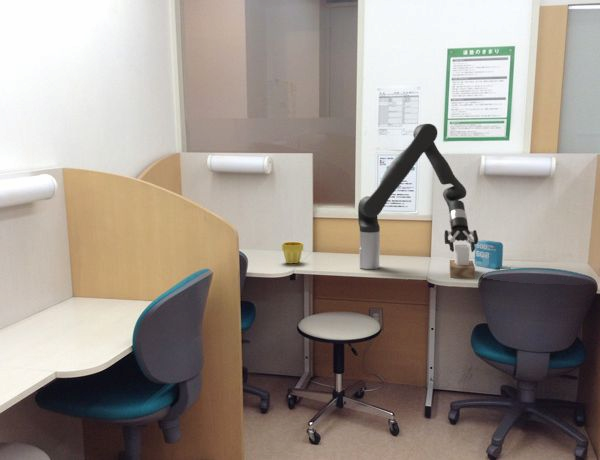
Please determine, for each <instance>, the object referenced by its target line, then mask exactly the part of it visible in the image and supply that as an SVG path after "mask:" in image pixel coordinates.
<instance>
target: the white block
mask: <svg viewBox="0 0 600 460" xmlns="http://www.w3.org/2000/svg"><path fill="white" fill-rule="evenodd" d="M454 260H455V263H456V264H457V265H469V261H470V246H469V245H467V244H455V245H454Z"/></svg>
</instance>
